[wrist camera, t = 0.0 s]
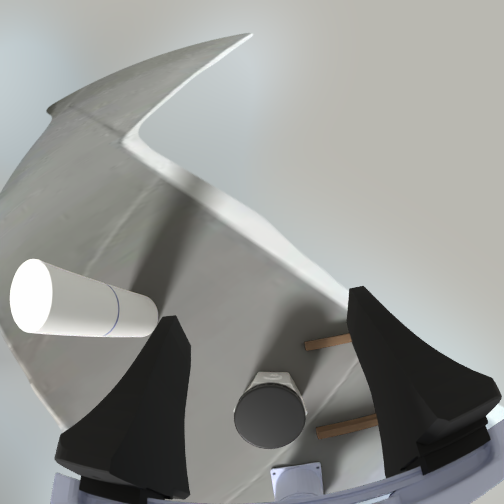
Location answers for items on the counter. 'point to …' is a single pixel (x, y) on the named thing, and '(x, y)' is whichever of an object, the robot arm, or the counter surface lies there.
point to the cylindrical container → (76, 304)
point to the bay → (347, 425)
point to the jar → (270, 411)
